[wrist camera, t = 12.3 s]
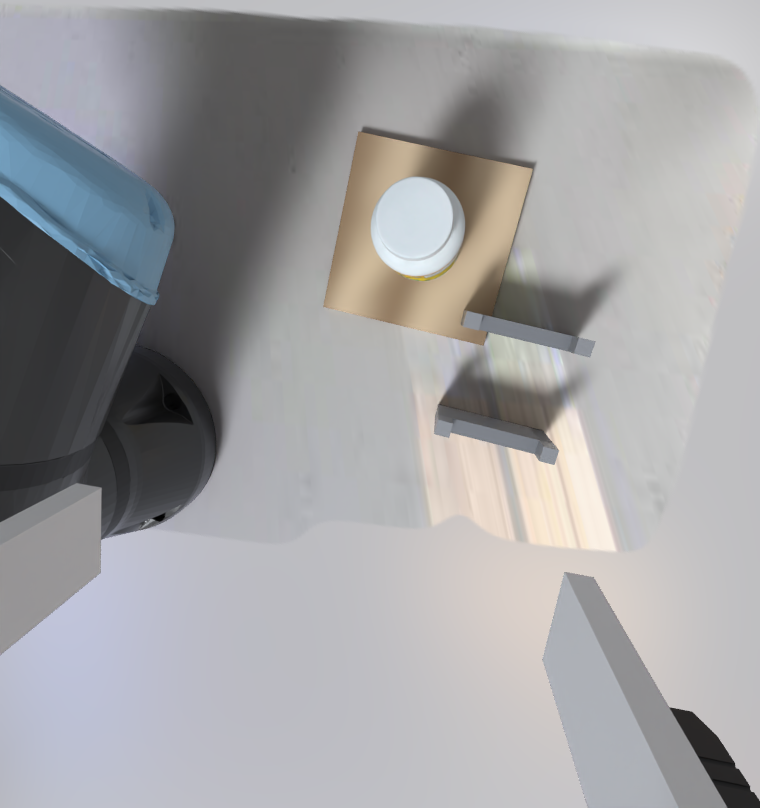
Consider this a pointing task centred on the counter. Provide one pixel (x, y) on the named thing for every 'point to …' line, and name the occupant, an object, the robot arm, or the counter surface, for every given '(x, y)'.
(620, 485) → the counter surface
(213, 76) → the counter surface
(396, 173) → the square wooden board
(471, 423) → the holder
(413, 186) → the supplement bottle
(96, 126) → the counter surface
